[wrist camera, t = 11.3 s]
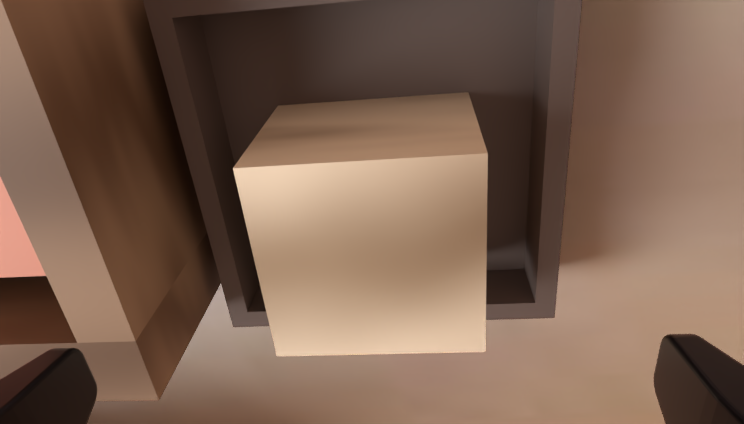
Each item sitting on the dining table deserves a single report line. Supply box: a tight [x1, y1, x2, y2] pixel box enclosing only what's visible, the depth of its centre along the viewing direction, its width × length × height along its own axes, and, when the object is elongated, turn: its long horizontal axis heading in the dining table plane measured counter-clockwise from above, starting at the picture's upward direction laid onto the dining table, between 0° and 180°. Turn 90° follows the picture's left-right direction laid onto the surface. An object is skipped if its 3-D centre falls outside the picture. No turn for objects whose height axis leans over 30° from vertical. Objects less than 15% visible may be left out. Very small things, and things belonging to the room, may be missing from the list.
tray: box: [143, 0, 582, 327], centre depth 16 cm, size 10×10×3 cm
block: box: [233, 92, 488, 356], centre depth 15 cm, size 6×6×4 cm
